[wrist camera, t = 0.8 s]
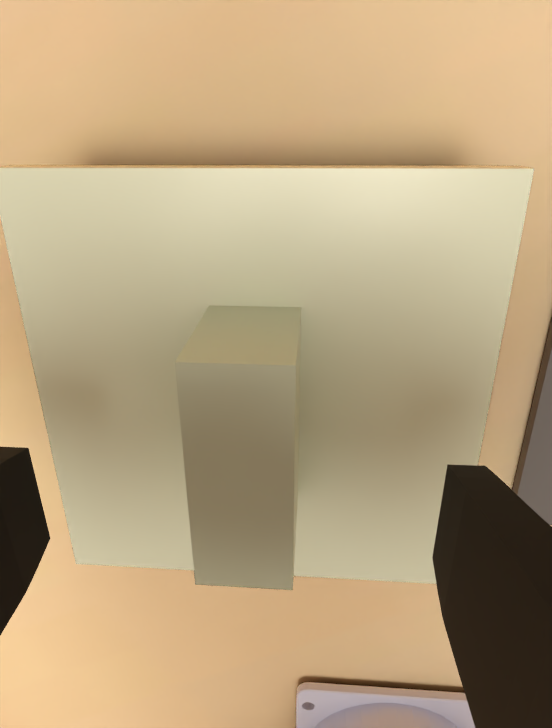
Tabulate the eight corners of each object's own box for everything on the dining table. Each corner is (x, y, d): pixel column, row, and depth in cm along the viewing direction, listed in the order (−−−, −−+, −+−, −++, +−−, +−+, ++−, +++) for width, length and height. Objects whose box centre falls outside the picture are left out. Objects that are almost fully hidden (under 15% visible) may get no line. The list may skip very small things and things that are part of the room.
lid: (445, 552, 15) (487, 694, 11) (92, 533, 16) (21, 662, 12) (512, 164, 11) (618, 184, 7) (20, 164, 12) (-127, 182, 8)
